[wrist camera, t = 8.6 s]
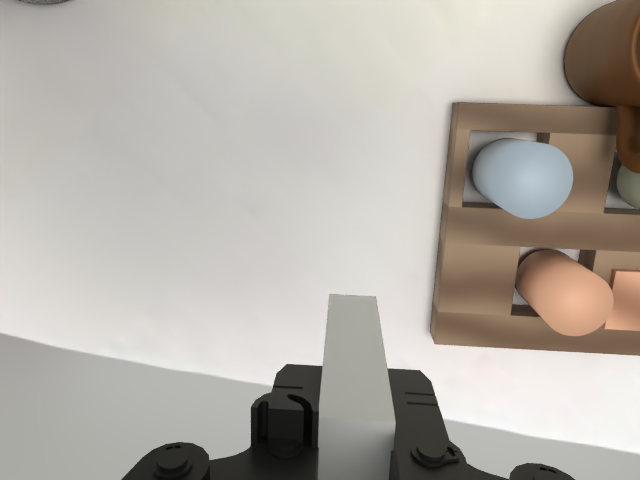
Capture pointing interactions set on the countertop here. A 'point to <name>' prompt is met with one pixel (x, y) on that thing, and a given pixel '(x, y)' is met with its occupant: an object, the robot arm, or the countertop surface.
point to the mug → (610, 70)
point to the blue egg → (523, 177)
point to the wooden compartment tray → (534, 236)
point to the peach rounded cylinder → (564, 292)
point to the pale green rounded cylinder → (629, 186)
